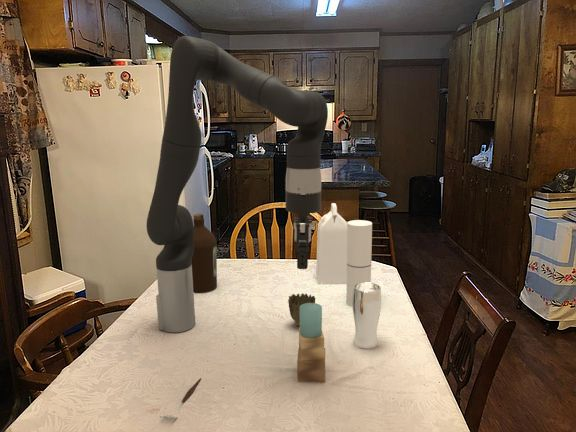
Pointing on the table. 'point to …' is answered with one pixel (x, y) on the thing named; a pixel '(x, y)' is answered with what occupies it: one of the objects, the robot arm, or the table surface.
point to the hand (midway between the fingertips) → (302, 261)
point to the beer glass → (366, 314)
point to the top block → (311, 347)
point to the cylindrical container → (358, 255)
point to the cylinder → (310, 320)
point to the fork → (183, 400)
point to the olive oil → (204, 257)
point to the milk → (332, 248)
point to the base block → (310, 370)
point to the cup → (298, 305)
